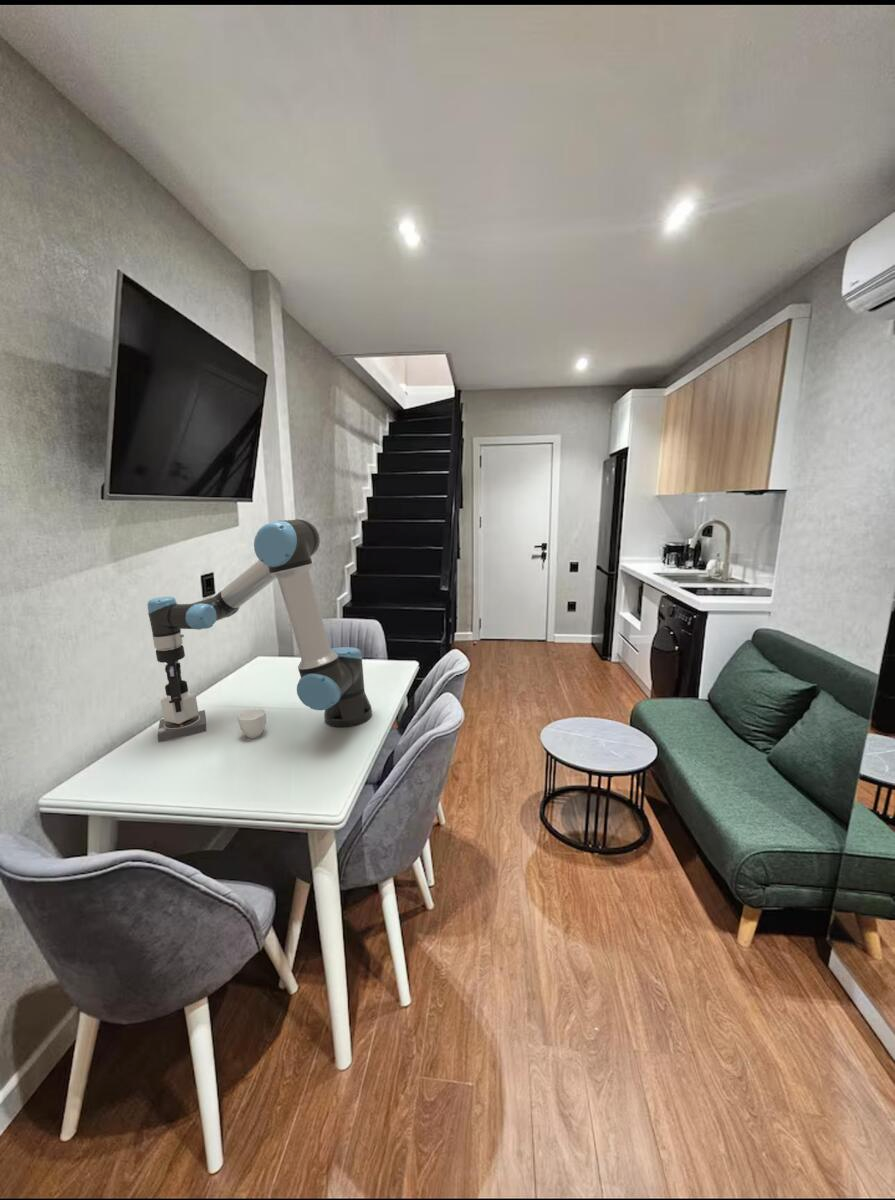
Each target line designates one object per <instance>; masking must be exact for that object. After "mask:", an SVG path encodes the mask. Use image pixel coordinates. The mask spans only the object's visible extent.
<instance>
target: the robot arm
mask: <svg viewBox="0 0 895 1200" xmlns="http://www.w3.org/2000/svg"><path fill="white" fill-rule="evenodd" d="M320 539H321V537H320V534H319V532H318V529H317V528H316V527H315V525H314V524H312V523H311V522H310V521H307V520H304V519H299V518H298V519H297V518H296V519H291V520H290V519H286V520H284V519H283V520H275V521H271V522H268V523H265V524H264V525H262V526H261V527H260V528H259V529H258V531H257V532H256V534H255V536H254V541H253V547H254V553H255V555H256V557H257V559H258V560H257V561H256V562H255V563H254V564H252V565H251V566H250V567H249V568H247V569H246V570H245V571H244V572H243V573H241V574H240V575H238V577H236V578H235V579H234V580H232V581H231V582H230V583H229V584H227V585H226V586H225V587H223V589H222V590H220V591H219V592H217V594H215V595H214V596H212V597H209V598H206V599H203V600H200V601H196V602H193V603H177V601H176V598H175V597H174V596H161V597H160V596H159V597H154V598H152V599H149V600H148V601H147V612H148V613H147V614H148V617H149V623H150V627H151V633H152V642H153V646H154V649H155V657H156V661H157V662H158V663H163V664H164V663H165V667H164V671H165V673H166V678H167V682H168V683H169V688H170V695H171V701H169V703H172V705H173V710H174V716H175V721H176V722H179V721H184V720H186V718H185V712H184V707H183V701H182V698H181V692H180V684H179V680H182V671H181V669H182V668H181V662H179V661H180V660H182V659H184V658H185V656H186V654H185V648H184V645H183V644H184V643H183V638H185V635H184V633H183V634H182V631H181V630H199V631H200V630H205V629H207V630H208V629H210V628H212V627H213V626H214V624H215V623H216V622H217V621H220V620H222V619H223V620H224V619H225V618H230V617H231V616H233V615H235V614H236V613H238V611H239V609H240V607H241V606H243V605H244V604H245V603H247V602H248V601H249V600H250V599H252V598H253V597H254V596H255V595H256V594H258V593H260V592H261V591H262V590H263V589H264V588H265V587H267V586H268V585H270V584H271V583H272V582H273V581H274V580H276V579H277V581H278V584H279V588H280V591H281V596H282V599H283V602H284V605H285V608H286V611H287V615H288V618H289V621H290V622H289V623H290V625H291V628H292V632H293V636H294V639H295V643H296V645H297V648H298V653H299V656H300V662H299V663H298V665H297V669H298V672H299V675H300V678H299V681H298V683H297V684H296V685H297V686H296V694H297V697H298V698H299V700H300V702H301V703H302V704H303V705H305V706H306V707H309V708H310V709H311V710H315V711H324V713H323V715H324V721H325V723H326V724H327V725H329V726H331V727H336V728H347V727H353V726H358V725H360V724H363V723H365V722H367V721H368V720H370V719H371V718H372V715H373V710H372V704H371V703H370V700H369V698H368V696H367V694H366V691H365V681H364V667H363V657H362V652H361V650H360V649H359V648H357V647H351V646H348V647H346V646H344V647H343V646H342V647H333V648H331V645H330V642H329V639H328V634H327V631H326V629H325V625H324V620H323V618H322V614H321V610H320V607H319V603H318V599H317V595H316V592H315V589H314V586H313V582H312V579H311V575H310V569H312V566H313V561H312V556H314V555H315V554H316V553H317V551H318V549H319V547H320V545H321V544H320V543H321V540H320ZM176 697H178V698H176Z"/></svg>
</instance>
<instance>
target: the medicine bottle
mask: <svg viewBox="0 0 895 1200" xmlns="http://www.w3.org/2000/svg"><path fill="white" fill-rule="evenodd" d="M187 682H188V681H186V680H179V684H180V692H181V698H182V701H183V707H184V712H185V718H186V720H184V721H187V720H189V719H191V718H193V717H195V716H197V715H199V712H198V711H199V708H198V700H197V695H196V694H195V693H190V692H189V688H188V683H187ZM164 689H165V696H166V697H164V698H163V699H160V705H161V709H162V716H163V719H164V721H168V722H172V723H177V724H180V723H182V722H184V721H179V722H176V721H175V716H174V710H173V705H172V703H169V701H171V695H170V688H169V682H168V683H166V685H165V686H164ZM176 698H178V697H176Z"/></svg>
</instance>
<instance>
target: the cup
mask: <svg viewBox="0 0 895 1200" xmlns="http://www.w3.org/2000/svg"><path fill="white" fill-rule="evenodd" d="M237 721H238V725H239V726H238V727H239V728H240V730H241V732H242V734H244V735H245V736H246V737H247V738H249V739H254V738H258V737H260V736H261V735H262V734H263V732H264V730H265V728H266V725H267V716H266V710H264V709H263V708H262V709H261V708H253V709H248V710H245V711H242V712H241V713H240V714H238V716H237Z"/></svg>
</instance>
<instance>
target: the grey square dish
mask: <svg viewBox="0 0 895 1200" xmlns="http://www.w3.org/2000/svg"><path fill="white" fill-rule="evenodd" d="M198 712H199V715H197V716H195V717H193V718H191V719H189V720H187V721H184V722H182V723H180V724H177V723H172V722H168V721H164V718H161V719H160V720H159V723H158V729H157V734H156V735H157V741H158V743H161V741H162V742H166V741H169V740H173V739H179V738H183V737H187V736H191V735H192V736H193V735H196V734H200V733H204V732H207V716H206V711H205V709H204V710H198ZM165 740H166V741H165Z"/></svg>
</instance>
